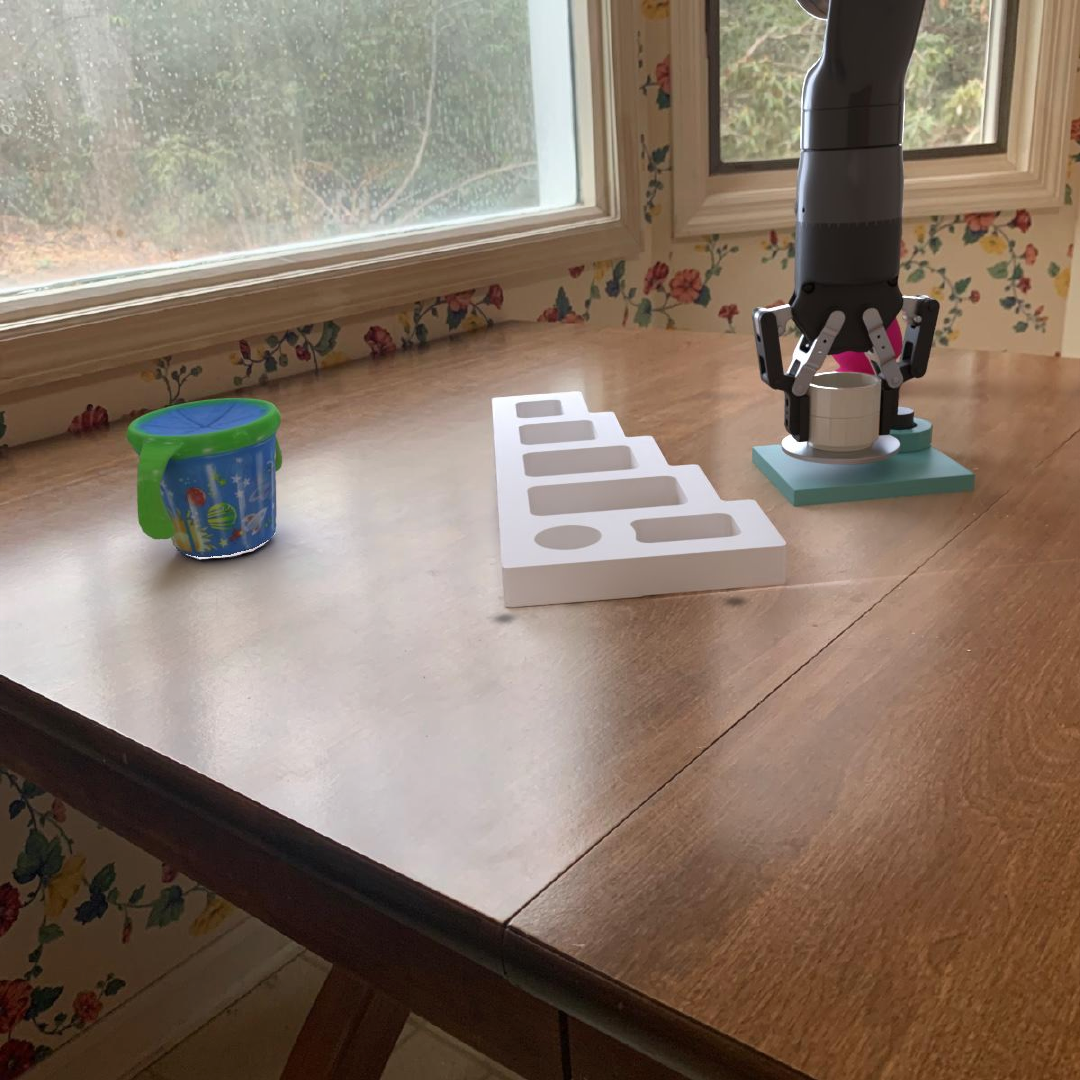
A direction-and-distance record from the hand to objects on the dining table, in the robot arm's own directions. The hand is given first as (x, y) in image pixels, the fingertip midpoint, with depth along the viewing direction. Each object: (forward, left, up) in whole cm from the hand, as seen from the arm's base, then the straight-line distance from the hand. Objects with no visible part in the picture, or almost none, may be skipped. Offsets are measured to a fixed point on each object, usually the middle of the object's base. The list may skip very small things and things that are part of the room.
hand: (840, 435), depth 85 cm
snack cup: (+48, +1, -4) cm, 48 cm away
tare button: (-7, -5, -1) cm, 8 cm away
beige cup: (0, 0, -1) cm, 1 cm away
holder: (+18, -5, -4) cm, 19 cm away
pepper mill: (-13, -30, -4) cm, 33 cm away
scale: (-2, -2, -4) cm, 5 cm away
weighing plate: (0, 0, -1) cm, 1 cm away
